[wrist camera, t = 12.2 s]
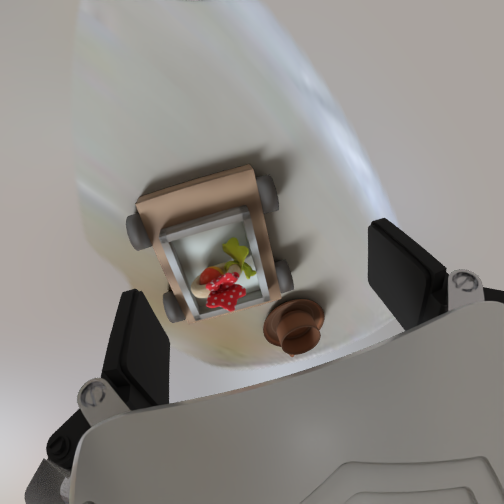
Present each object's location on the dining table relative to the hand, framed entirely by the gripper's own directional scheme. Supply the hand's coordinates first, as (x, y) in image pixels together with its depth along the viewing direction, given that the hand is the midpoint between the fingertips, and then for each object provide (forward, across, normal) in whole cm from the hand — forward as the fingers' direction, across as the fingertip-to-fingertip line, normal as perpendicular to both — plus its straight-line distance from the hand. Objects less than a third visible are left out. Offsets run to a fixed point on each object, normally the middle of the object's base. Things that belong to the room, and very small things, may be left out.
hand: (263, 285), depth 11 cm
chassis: (+30, +4, +14) cm, 34 cm away
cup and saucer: (+31, -6, +34) cm, 46 cm away
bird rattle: (+27, +3, +15) cm, 31 cm away
